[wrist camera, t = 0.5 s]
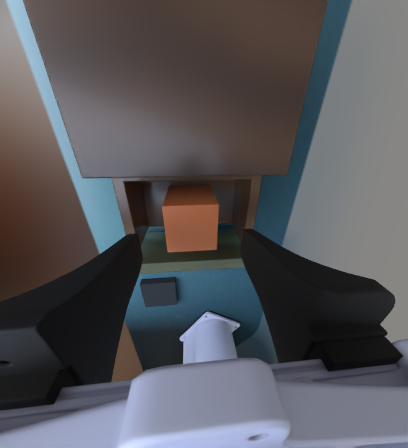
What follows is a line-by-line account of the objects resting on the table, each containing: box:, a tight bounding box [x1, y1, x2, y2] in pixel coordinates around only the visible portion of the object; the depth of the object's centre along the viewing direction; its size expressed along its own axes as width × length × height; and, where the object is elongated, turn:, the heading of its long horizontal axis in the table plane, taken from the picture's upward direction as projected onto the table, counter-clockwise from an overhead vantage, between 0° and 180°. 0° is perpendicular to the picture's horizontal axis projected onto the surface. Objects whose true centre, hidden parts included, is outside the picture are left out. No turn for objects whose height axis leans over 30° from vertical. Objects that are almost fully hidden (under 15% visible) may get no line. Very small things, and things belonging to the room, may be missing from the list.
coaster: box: [140, 277, 178, 307], centre depth 26 cm, size 5×5×1 cm
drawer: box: [112, 175, 262, 274], centre depth 17 cm, size 11×12×6 cm
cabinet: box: [23, 0, 328, 178], centre depth 12 cm, size 11×14×8 cm
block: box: [162, 185, 219, 252], centre depth 16 cm, size 4×4×5 cm
